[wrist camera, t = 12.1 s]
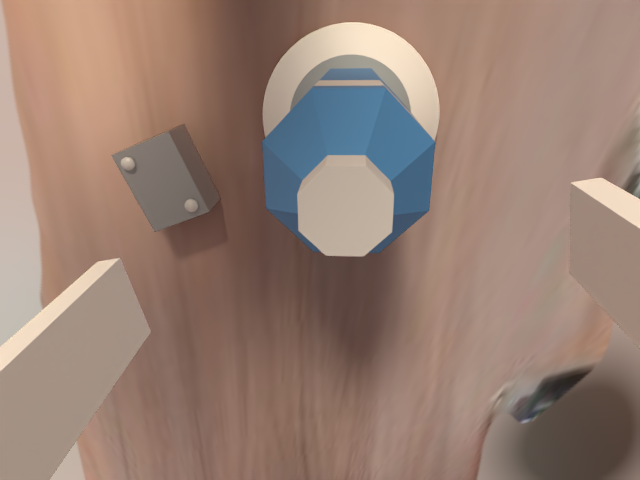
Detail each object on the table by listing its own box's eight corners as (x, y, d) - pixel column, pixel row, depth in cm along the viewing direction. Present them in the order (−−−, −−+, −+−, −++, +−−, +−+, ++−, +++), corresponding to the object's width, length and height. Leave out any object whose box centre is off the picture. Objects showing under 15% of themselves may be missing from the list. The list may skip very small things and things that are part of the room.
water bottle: (416, 147, 42) (491, 272, 19) (322, 184, 44) (288, 337, 21) (380, 45, 39) (420, 48, 16) (282, 90, 41) (189, 150, 18)
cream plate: (245, 45, 41) (242, 45, 39) (426, 3, 38) (429, 2, 37) (286, 211, 47) (284, 215, 45) (445, 184, 44) (447, 188, 43)
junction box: (131, 146, 45) (109, 156, 41) (183, 124, 44) (166, 132, 40) (170, 217, 48) (153, 233, 44) (220, 198, 46) (207, 213, 42)
